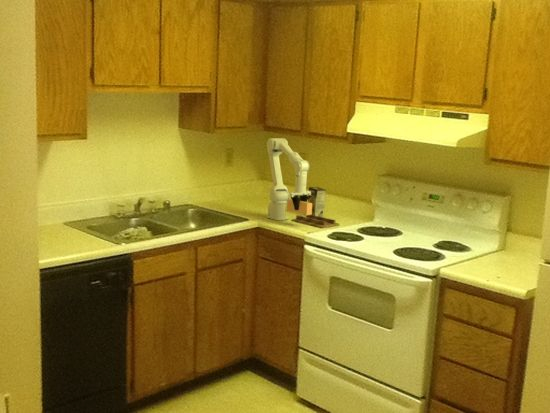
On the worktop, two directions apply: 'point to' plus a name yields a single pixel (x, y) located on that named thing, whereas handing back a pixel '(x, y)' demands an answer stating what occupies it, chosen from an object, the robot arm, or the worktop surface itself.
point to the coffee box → (317, 200)
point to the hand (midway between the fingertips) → (299, 209)
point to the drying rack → (316, 221)
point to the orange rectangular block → (300, 207)
